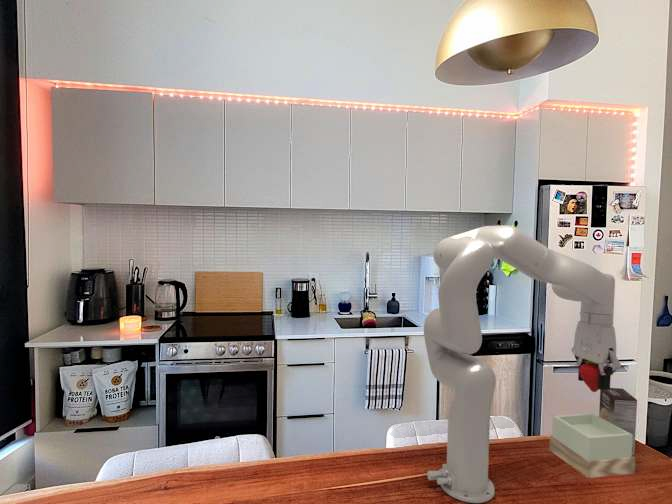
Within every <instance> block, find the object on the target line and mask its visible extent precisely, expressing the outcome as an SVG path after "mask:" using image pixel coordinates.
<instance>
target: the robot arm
mask: <svg viewBox="0 0 672 504" xmlns="http://www.w3.org/2000/svg"><path fill="white" fill-rule="evenodd" d="M432 256H433V260H434V263H435V264H436V266H437V267H438V268H440V269H441V270H443V271H445V273H444V274H443V276H442V278H441V280H440V282H439V285H438V291H437V296H438V297H437V298H438V305H439V306H438V307H437V308H434V309H432V310H431V311H429V313H428V314H427V316H426V318H425V319H424V324H423V336H424V344H425V348H426V353H427V358H428V363H429V369H430V371H431V374H432V376H433V377H434V378H435V379H436V381H438V382H439V383H441V384H442V385H444V386H445V387H448V388H449V389H450V390H452V391H453V392H454V396H453V399H452V400H451V402H450V405H449V407H448V411H447V412H448V413H447V415H448V416H447V442H446V443H447V445H446V463H442V468H439V470H428V471H427V473H426V474H427V475H426V476H427V479H428V481H434V480H436V483H437V485H440V487H441V489H442V490H443V491H444V493H446V494H447V495H449V496H450V497H451V498H454V499H456V500H458V501H461V502H465V503H471V504H482V503H486V502H488V501H490V500H492V499H493V498H494V497H495V491H496V490H495V485H494V483H493V482H492V480H491V479H490V478H489V452H490V451H489V450H490V449H489V448H490V425H491V424H490V422H491V410H492V409H491V408H492V402H493V398H494V394H495V389H496V385H497V378H496V375H495V372H494V369H492V367H491V366H490V365H489V364H488V363H487V362H485V361H484V360H481V358H478V357H476V356H473V354H474V353H477V352H478V351H479V350H480V348H481V346H482V343H483V334H482V327H481V321H480V316H479V310H478V304H477V289H478V285H479V283H480V282H481V280H482V278H483V277H484V275H485V274H486V273H487V272H488V270H489V269H490V268H491V266H492V264H493V262H494V260H495V259H496V260H499V261H502V262H504V263H505V264H507V265H509V266H511V267H512V268H514V269H515V270H517V271H518V272H520V273H522V274H524V275H525V276H527V277H528V278H530V279H533V280H536V281H539V282H543V283H547V284H551V289H552V292H553V294H554V295H556V296H557V297H559V298H560V299H562V300H566V301H567V300H568V301H572V302H580V312H579V316H580V317H579V318H580V319H579V320H578V321H577V324H576V328H575V332H574V339H573V347H572V348H571V352H572V354H573V355H574V358H575V360H576V365H577V366H578V370H579V369H580V366H581V365H583V364H587V362H584V361H590V362H593V363H596V364H598V365H599V369H600V373H601V374H599V375H598V389H599V390H609V389H610V388H611V376H613V375H614V373H616V371H617V370H619V369H621V368H622V363H621V362H620V360H619V359H618V357H617V336H616V329H615V327H614V317H615V316H614V315H615V314H614V313H615V291H616V289H615V288H616V287H615V286H616V279H615V277H614V275H612V274H608V273H603V272H602V271H600V270H599V269H597V268H595V267H594V266H592V265H590V264H588V263H586V262H584V261H582V260H578V259H576V258H574V257H570V256H568V255H566V254H563V253H561V252H559V251H555V250H553V249H550V248H548V247H547V246H546V245H544V244H542V243H541V242H539V241H538V240H536V239H534V238H533V237H532V236H531V235H529V234H527V233H526V232H524V231H522V230H521V229H519V228H517V227H515V226H512V225H503V224H502V225H485V226H481V227H477V228H474V229H470V230H467V231H464V232H461V233H458V234H455V235H451V236H449V237H446V238H442V240H440V241H439V242H438V243H437V244H436V245H435V247H434V250H433V255H432ZM604 366H606V369H605V368H604ZM577 375H578V377H577V379H578V381H580V382H581V381H582V382H584V381H583V379H582V378H581V376H580V373H579V371H578V374H577Z"/></svg>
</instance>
